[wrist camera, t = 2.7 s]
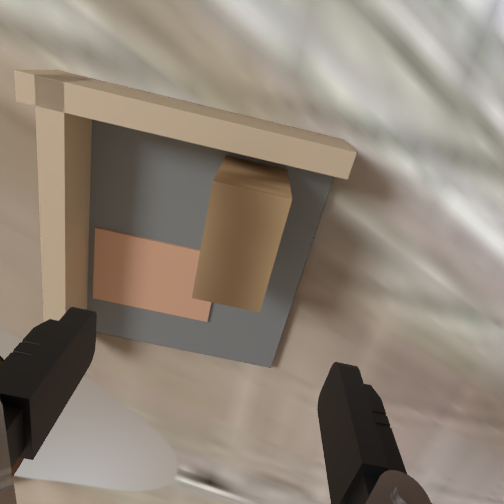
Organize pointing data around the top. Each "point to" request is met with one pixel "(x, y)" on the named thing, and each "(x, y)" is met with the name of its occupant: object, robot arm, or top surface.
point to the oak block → (242, 233)
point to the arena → (161, 210)
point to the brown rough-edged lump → (19, 457)
